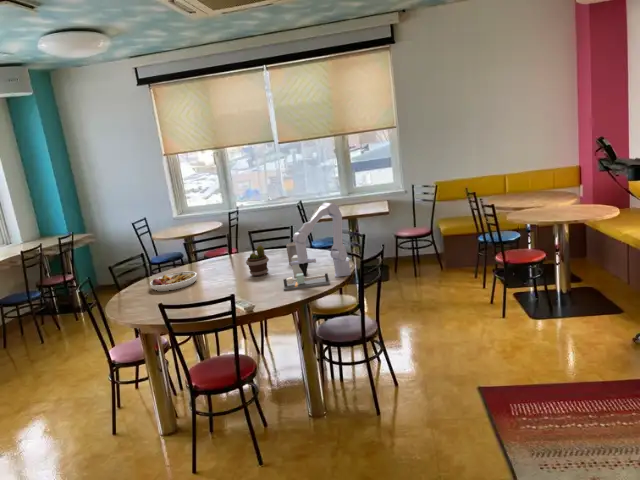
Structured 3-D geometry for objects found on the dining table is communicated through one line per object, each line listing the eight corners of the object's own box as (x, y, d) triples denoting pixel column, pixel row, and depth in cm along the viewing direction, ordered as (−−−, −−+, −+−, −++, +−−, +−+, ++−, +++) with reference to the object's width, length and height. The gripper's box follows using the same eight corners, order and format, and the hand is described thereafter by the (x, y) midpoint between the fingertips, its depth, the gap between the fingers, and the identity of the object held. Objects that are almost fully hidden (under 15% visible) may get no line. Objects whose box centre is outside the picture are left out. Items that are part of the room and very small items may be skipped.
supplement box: (305, 276, 314) (302, 257, 311) (293, 277, 315) (290, 258, 313) (308, 273, 321) (305, 253, 318) (296, 274, 322) (293, 254, 320)
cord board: (329, 279, 301) (327, 270, 299) (329, 284, 291) (327, 275, 290) (285, 285, 302) (283, 276, 301) (283, 290, 292) (282, 281, 291)
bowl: (183, 276, 360) (181, 265, 358) (206, 281, 339) (204, 269, 337) (143, 289, 340) (141, 278, 338) (165, 295, 318) (162, 283, 317)
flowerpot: (252, 279, 325) (247, 249, 321) (245, 274, 339) (240, 245, 335) (274, 274, 331) (269, 244, 326) (266, 269, 344) (261, 240, 340)
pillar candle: (295, 260, 357) (291, 239, 354) (306, 261, 351) (302, 240, 348) (286, 264, 350) (282, 243, 346) (297, 265, 344) (293, 243, 341)
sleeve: (304, 280, 298) (303, 273, 297) (304, 282, 294) (303, 275, 293) (297, 281, 298) (296, 273, 297) (297, 283, 294) (296, 275, 293)
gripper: (288, 256, 289) (292, 279, 291) (314, 253, 288) (317, 276, 291) (289, 253, 296) (293, 276, 298) (314, 250, 295) (317, 272, 298)
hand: (305, 275), depth 295 cm, fingers closed
